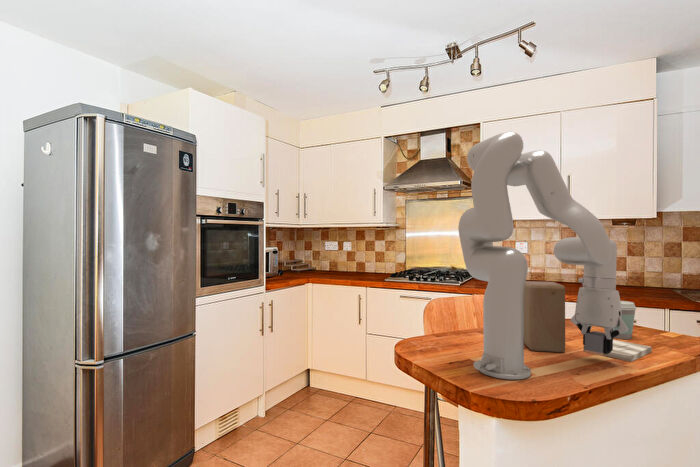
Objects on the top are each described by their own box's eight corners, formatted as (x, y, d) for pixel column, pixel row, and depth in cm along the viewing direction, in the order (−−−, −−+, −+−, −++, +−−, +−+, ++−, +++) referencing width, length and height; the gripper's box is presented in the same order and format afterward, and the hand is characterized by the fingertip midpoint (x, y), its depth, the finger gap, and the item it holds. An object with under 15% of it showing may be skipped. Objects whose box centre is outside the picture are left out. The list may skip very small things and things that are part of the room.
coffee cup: (635, 336, 132) (635, 301, 132) (637, 341, 125) (637, 305, 125) (605, 332, 136) (605, 299, 137) (606, 338, 129) (606, 302, 129)
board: (630, 361, 104) (630, 356, 104) (583, 351, 114) (583, 346, 114) (651, 351, 114) (651, 346, 114) (606, 342, 123) (606, 338, 124)
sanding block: (600, 355, 101) (601, 336, 101) (584, 351, 105) (585, 333, 105) (610, 352, 105) (610, 334, 105) (594, 348, 108) (594, 331, 108)
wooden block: (566, 353, 112) (566, 285, 112) (530, 351, 114) (529, 284, 114) (555, 344, 122) (555, 281, 122) (521, 342, 124) (521, 280, 124)
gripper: (561, 281, 110) (559, 345, 109) (629, 288, 96) (627, 361, 96) (573, 280, 114) (571, 342, 114) (640, 287, 101) (639, 357, 100)
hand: (597, 350), depth 105 cm, fingers closed on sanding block, 4 cm apart
